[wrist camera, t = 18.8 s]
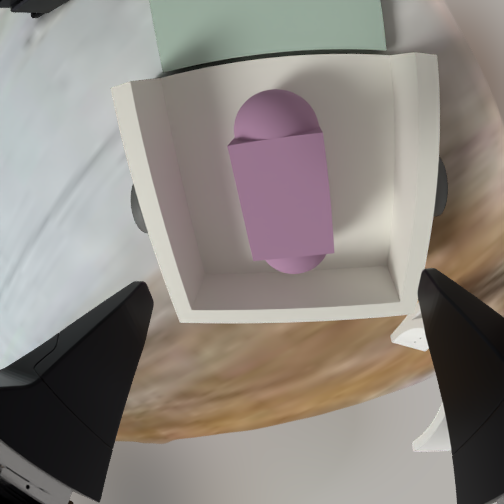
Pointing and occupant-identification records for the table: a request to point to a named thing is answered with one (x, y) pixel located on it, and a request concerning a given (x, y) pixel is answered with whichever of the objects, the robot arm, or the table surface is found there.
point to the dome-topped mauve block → (282, 181)
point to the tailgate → (261, 28)
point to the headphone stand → (437, 432)
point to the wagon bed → (339, 174)
